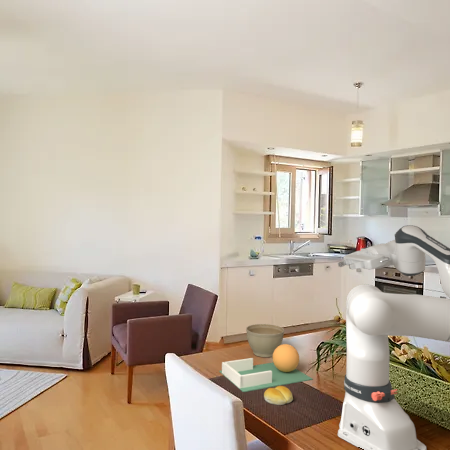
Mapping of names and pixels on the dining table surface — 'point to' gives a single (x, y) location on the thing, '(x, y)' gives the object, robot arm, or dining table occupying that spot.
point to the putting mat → (273, 376)
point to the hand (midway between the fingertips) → (344, 266)
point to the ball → (285, 358)
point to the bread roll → (278, 395)
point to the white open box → (248, 380)
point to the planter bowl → (264, 338)
